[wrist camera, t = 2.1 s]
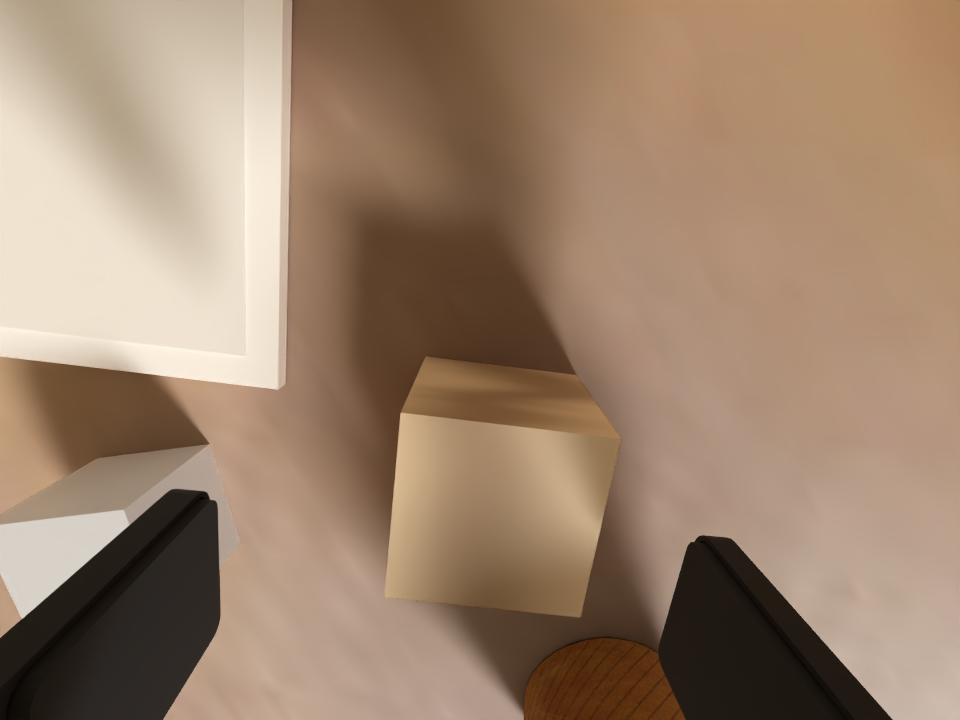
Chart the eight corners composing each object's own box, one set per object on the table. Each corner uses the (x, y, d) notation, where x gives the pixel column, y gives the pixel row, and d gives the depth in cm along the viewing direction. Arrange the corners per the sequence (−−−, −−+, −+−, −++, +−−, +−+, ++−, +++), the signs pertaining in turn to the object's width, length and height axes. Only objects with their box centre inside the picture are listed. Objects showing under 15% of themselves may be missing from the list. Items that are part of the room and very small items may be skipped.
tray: (293, -48, 12) (282, -66, 11) (285, 383, 15) (276, 390, 14) (-185, -121, 12) (-225, -143, 11) (-91, 338, 15) (-118, 343, 14)
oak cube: (575, 374, 15) (620, 438, 10) (550, 505, 16) (580, 617, 12) (425, 355, 15) (400, 412, 10) (412, 490, 16) (384, 597, 11)
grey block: (210, 442, 16) (123, 509, 12) (241, 541, 17) (170, 632, 13) (99, 457, 16) (-23, 527, 12) (137, 553, 17) (36, 647, 13)
